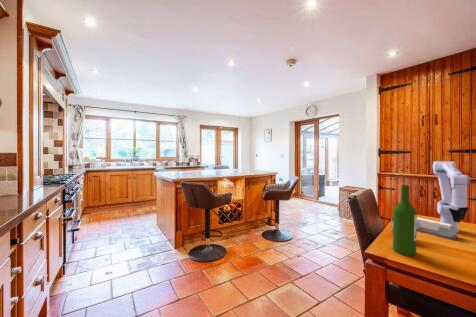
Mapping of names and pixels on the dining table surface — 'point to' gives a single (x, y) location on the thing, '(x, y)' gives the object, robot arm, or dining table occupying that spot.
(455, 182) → the robot arm
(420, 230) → the stand
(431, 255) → the dining table surface
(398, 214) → the wine bottle
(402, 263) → the dining table surface
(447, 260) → the dining table surface
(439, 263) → the dining table surface
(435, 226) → the rail
